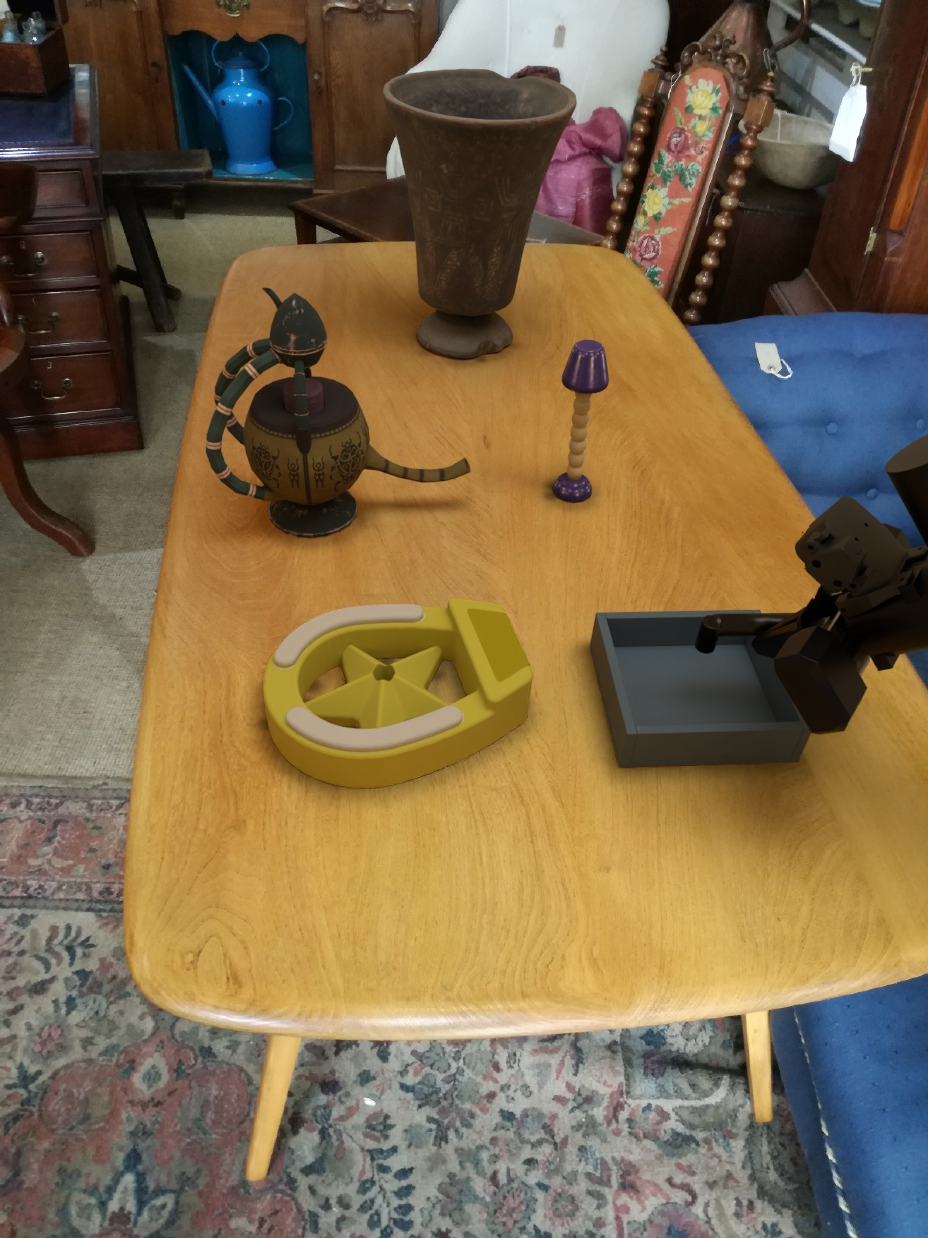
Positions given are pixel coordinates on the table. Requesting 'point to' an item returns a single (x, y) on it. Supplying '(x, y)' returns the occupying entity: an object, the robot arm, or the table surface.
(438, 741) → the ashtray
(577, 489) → the toy lamp
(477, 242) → the vase
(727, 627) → the spout
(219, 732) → the table surface
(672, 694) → the sink
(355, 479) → the teapot
